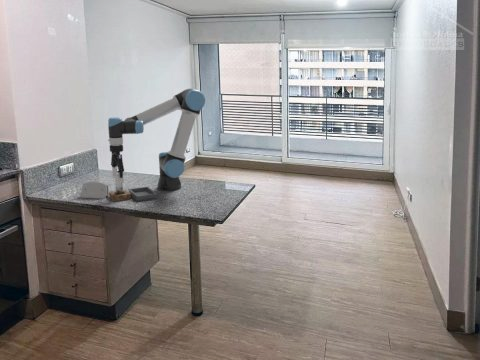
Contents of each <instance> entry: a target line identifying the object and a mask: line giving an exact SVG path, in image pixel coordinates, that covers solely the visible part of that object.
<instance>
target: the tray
mask: <svg viewBox="0 0 480 360" xmlns="http://www.w3.org/2000/svg"><path fill="white" fill-rule="evenodd" d="M128 192H129V193H130V196H131V197H132V199H134V200H135V201H136V202H143V201H149V200H156V199H158V193H157V192H155V190H153V189H151V188H150V187H149V186H142V187H135V188H128Z"/></svg>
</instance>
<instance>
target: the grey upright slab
mask: <svg viewBox="0 0 480 360" xmlns="http://www.w3.org/2000/svg"><path fill="white" fill-rule="evenodd" d="M109 190H110V189H109V185H108V184H107V183H105V182H100V181H87V182H85V183H83V184H82V186H81V192H80V194H79V198H81V199H82V198H86V199H87V198H88V199H106V198H107V197H109V192H110V191H109Z"/></svg>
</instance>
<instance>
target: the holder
mask: <svg viewBox="0 0 480 360" xmlns="http://www.w3.org/2000/svg"><path fill="white" fill-rule="evenodd" d="M131 197H132V196H131V195H130V193H129V191H127V190H126V189H123V194H119V195H116V190H115V191H109V196H108V198H110V199H111V201H112V202H119V201H126V200H130V199H132V198H131Z"/></svg>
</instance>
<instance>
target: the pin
mask: <svg viewBox="0 0 480 360" xmlns="http://www.w3.org/2000/svg"><path fill="white" fill-rule="evenodd" d="M114 182H115V183H114V185H115V191H116V195H119V194H123V190H124V188H123V187H124V185H123V184H124V183H119V180H118V173H117V175H115V178H114Z"/></svg>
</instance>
